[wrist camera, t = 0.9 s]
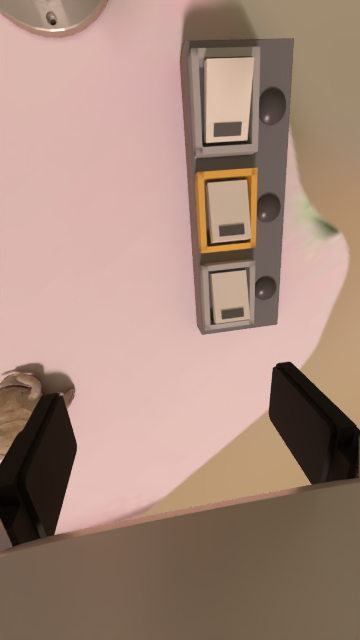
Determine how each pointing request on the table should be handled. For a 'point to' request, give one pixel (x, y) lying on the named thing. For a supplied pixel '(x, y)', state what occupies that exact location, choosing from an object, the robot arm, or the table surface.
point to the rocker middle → (228, 211)
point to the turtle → (19, 406)
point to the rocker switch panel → (240, 175)
